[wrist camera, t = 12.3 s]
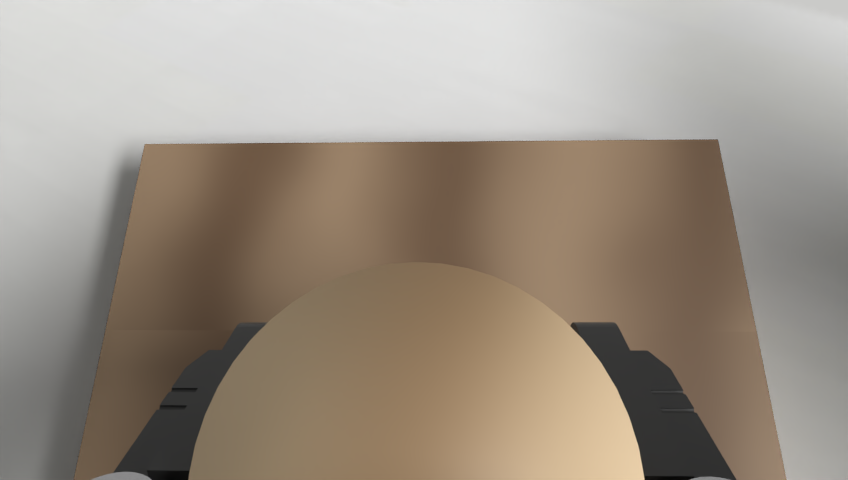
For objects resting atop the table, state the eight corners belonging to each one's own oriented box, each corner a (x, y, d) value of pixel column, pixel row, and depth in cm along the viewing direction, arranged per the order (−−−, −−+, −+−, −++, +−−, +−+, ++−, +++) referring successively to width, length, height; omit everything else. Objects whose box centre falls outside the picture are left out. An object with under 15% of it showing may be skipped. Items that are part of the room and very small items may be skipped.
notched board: (83, 646, 15) (32, 671, 13) (172, 173, 20) (144, 144, 18) (779, 661, 15) (828, 690, 13) (691, 170, 20) (717, 139, 18)
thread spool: (315, 596, 13) (134, 770, 5) (331, 362, 15) (212, 255, 7) (549, 600, 13) (692, 788, 5) (535, 362, 15) (624, 253, 7)
